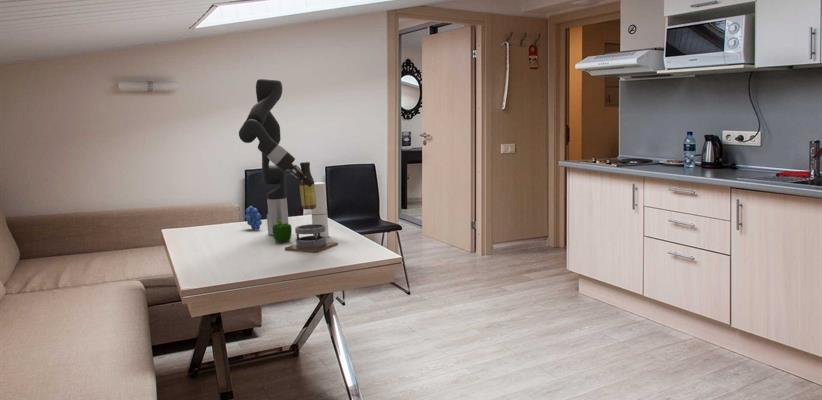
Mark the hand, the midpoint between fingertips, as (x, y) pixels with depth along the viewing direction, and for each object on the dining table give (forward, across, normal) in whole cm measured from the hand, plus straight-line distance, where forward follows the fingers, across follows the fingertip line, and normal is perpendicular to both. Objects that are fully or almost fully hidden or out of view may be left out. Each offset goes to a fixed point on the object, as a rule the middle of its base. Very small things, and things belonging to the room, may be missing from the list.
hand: (311, 184), depth 268 cm
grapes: (-2, +55, +41) cm, 69 cm away
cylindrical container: (+22, +23, +17) cm, 36 cm away
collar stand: (+18, 0, +20) cm, 27 cm away
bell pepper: (+10, +18, +29) cm, 36 cm away
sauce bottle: (+6, 0, +9) cm, 11 cm away
